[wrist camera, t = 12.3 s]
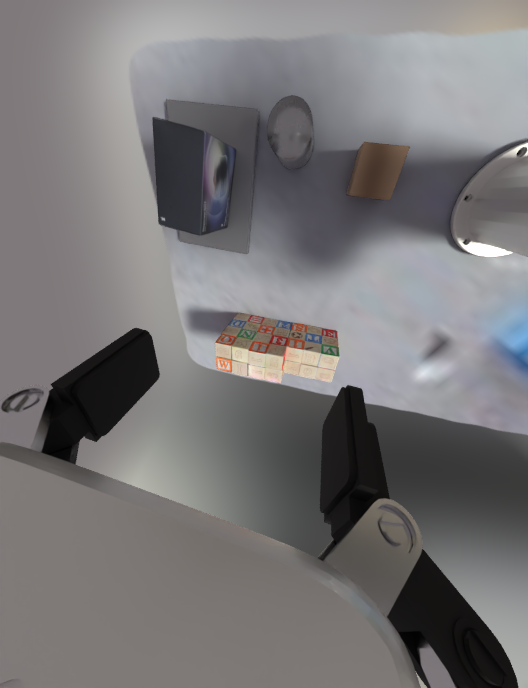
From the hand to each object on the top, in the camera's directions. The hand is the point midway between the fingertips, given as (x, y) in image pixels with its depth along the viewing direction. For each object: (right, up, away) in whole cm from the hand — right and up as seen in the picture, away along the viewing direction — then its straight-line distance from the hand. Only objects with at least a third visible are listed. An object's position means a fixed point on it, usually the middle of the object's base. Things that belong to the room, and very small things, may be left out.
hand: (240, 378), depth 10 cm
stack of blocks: (+6, +4, +37) cm, 37 cm away
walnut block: (+16, +25, +19) cm, 35 cm away
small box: (-7, +26, +24) cm, 36 cm away
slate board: (-7, +27, +24) cm, 37 cm away
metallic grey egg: (+5, +29, +19) cm, 35 cm away
